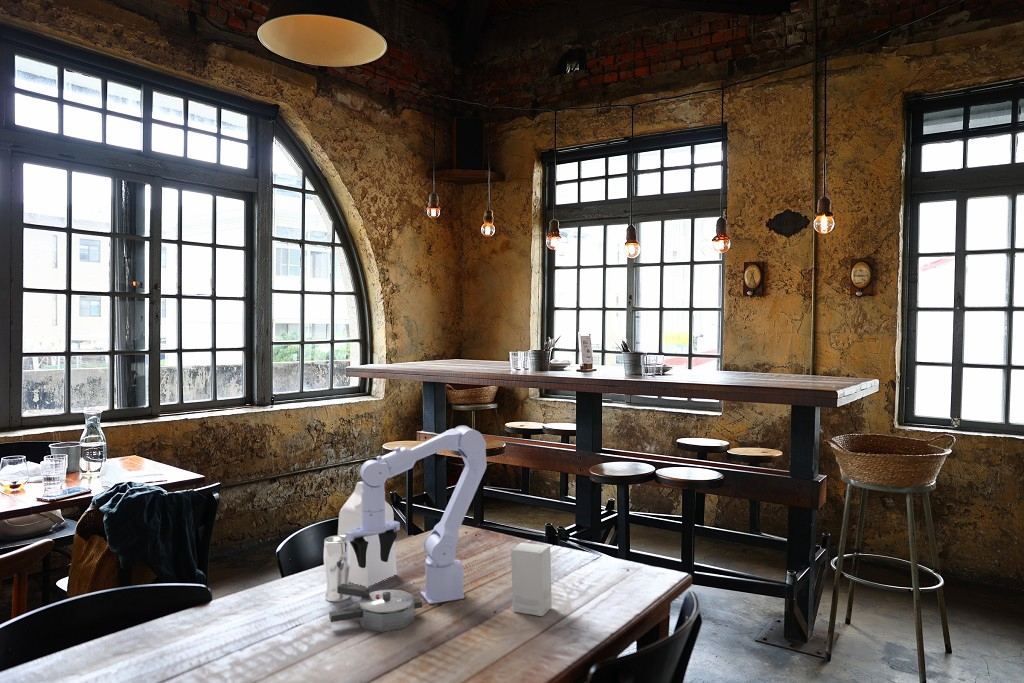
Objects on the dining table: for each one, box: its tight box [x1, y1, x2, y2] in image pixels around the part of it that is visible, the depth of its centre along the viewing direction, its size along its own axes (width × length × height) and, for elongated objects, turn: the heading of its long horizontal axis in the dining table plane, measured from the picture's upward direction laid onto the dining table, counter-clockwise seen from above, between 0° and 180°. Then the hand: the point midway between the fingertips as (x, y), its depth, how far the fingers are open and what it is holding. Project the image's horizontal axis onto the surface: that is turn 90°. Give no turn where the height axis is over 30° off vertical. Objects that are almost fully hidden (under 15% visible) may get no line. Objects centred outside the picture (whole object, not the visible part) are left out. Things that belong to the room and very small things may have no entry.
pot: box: [328, 597, 423, 633], centre depth 166 cm, size 21×12×4 cm, turn 114°
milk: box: [337, 481, 398, 588], centre depth 196 cm, size 12×12×26 cm
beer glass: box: [323, 534, 352, 603], centre depth 181 cm, size 7×7×15 cm
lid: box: [337, 583, 414, 613], centre depth 168 cm, size 19×12×2 cm, turn 69°
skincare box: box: [510, 542, 553, 617], centre depth 174 cm, size 8×7×16 cm
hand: (373, 564), depth 176 cm, fingers open, 6 cm apart
